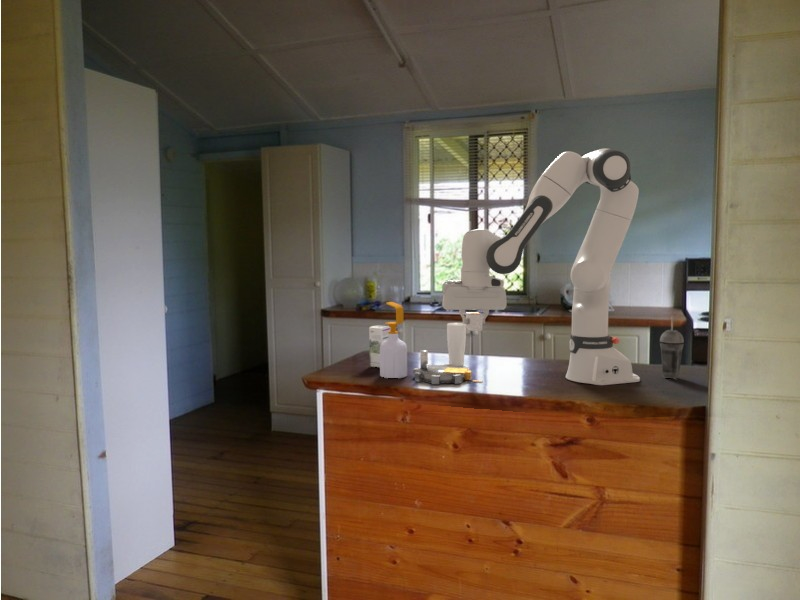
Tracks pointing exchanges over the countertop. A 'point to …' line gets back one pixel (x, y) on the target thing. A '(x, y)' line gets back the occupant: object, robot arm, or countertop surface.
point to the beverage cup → (671, 352)
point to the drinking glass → (456, 343)
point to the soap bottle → (393, 349)
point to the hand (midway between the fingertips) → (473, 323)
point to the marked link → (474, 321)
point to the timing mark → (476, 381)
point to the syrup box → (377, 343)
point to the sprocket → (440, 372)
